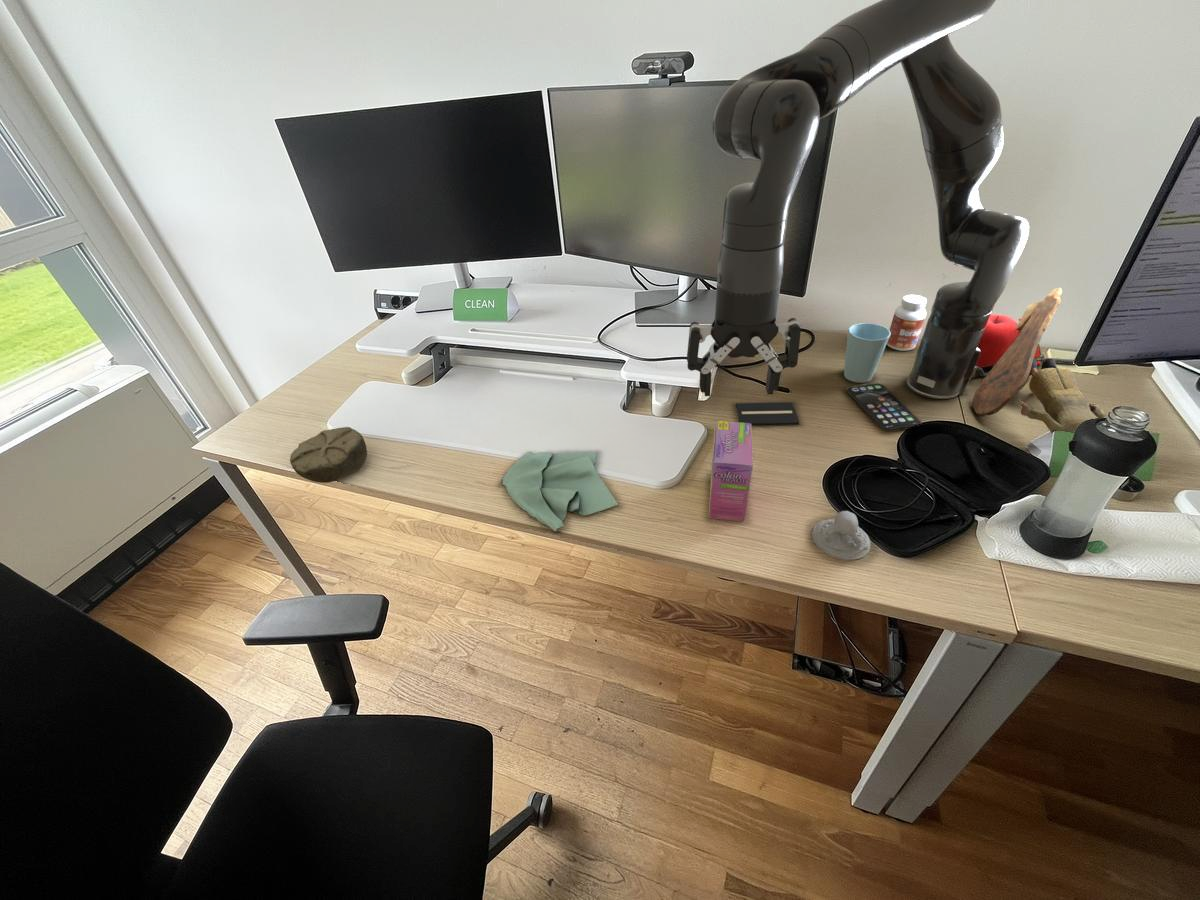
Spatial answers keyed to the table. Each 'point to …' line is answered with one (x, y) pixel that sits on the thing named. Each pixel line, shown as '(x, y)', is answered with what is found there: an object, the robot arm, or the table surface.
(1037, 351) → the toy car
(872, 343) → the cup
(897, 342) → the pill bottle
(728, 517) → the box
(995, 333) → the apple
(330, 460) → the stone
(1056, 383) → the figurine
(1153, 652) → the table surface
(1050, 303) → the paddle
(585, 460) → the cloth
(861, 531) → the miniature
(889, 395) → the smartphone
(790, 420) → the black striped rectangular slab
